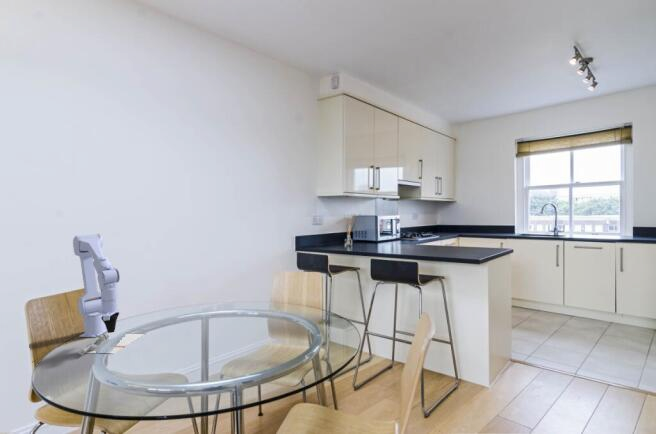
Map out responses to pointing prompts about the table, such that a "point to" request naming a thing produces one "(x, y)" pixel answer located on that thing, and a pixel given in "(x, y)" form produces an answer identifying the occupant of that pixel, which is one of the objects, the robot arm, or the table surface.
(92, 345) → the soldier figure
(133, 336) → the mat
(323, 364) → the table surface
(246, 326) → the table surface
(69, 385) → the table surface
